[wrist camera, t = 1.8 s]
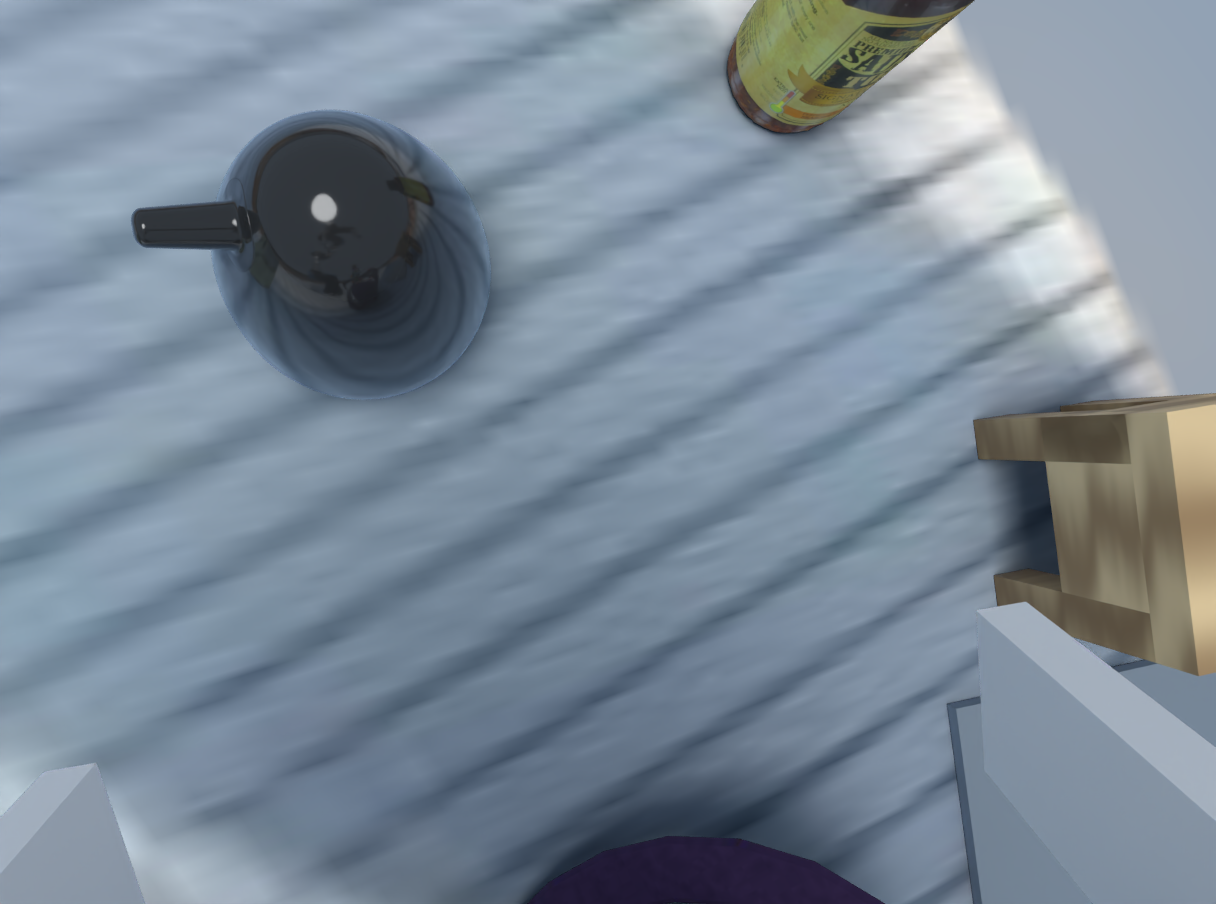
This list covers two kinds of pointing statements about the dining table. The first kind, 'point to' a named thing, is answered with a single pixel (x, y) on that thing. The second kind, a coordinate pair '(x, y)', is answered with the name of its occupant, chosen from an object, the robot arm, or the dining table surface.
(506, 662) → the dining table surface
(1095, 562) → the notched wooden block
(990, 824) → the slate mat
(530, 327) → the dining table surface
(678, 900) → the ringed planet sculpture
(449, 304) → the black egg shape
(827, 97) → the sauce bottle
